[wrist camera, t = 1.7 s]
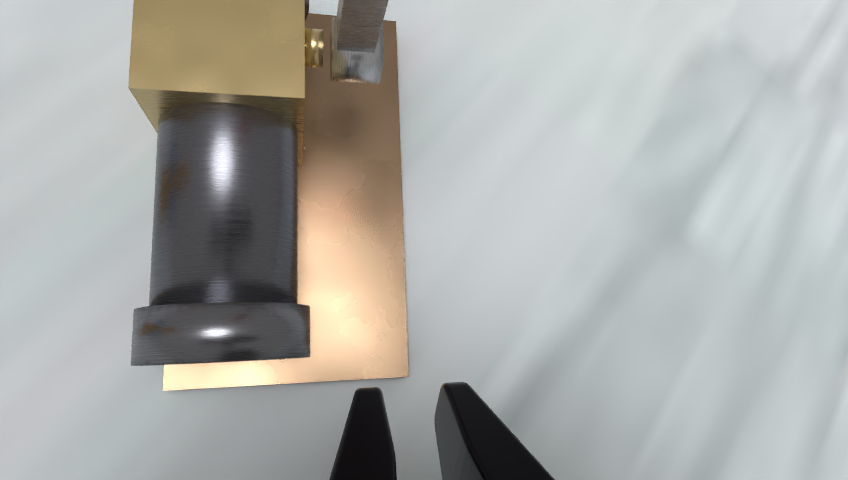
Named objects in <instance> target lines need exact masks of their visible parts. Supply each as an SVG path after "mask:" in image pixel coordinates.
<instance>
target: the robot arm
mask: <svg viewBox="0 0 848 480" xmlns="http://www.w3.org/2000/svg"><path fill="white" fill-rule="evenodd" d="M435 432H436V438H437V445H438V452H439V459H440V466H441V473H442V479H443V480H554V478H553V477H552V476H551V475H550V474H549V473H548V472H547V471H546V470H545V469H544V467H543V466H542V465H541V464H540V463H539V462H538V461H537V460H536V459H535V457H534V456H533V455H532V454H531V453H530V452H529V451H528V450H527V449H526V448H525V446H524V445H523V444H522V443H521V442H520V441H519V440H518V439H517V438H516V436H515V435H514V434H513V433H512V432H511V431H510V430H509V429H508V428H507V427H506V425H505V424H504V423H503V422H502V421H501V420H500V419H499V418H498V417H497V415H496V414H495V413H494V412H493V411H492V410H491V409H490V408H489V407H488V406H487V404H486V403H485V402H484V401H483V400H482V399H481V398H480V397H479V396H478V394H477V393H476V392H475V391H474V390H473V389H472V388H471V387H470V386H469V385H468V384H467V383H465V382H453V383H444V384H443V385H442V386H441V389H440V393H439V398H438V403H437V407H436V412H435ZM329 480H397V477H396V460H395V452H394V446H393V441H392V436H391V432H390V427H389V422H388V418H387V413H386V408H385V404H384V399H383V394H382V391H381V389H380V388H377V387H373V388H359V389H357V390H356V391H355V394H354V397H353V401H352V404H351V407H350V411H349V414H348V418H347V421H346V425H345V428H344V431H343V435H342V438H341V442H340V445H339V448H338V452H337V455H336V459H335V462H334V465H333V469H332V472H331V476H330V479H329Z"/></svg>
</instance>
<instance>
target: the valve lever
mask: <svg viewBox="0 0 848 480" xmlns="http://www.w3.org/2000/svg"><path fill="white" fill-rule="evenodd" d="M387 4H388V0H339V3H338V11H337V18H333V17H332V20H331V32H330V79H331V81H341V82H357V83H372V84H379V82H380V79H381V75H382V67H383V56H384V32H383V25H382V22H383V19H384V15H385V11H386V7H387Z"/></svg>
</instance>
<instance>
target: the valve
mask: <svg viewBox="0 0 848 480" xmlns="http://www.w3.org/2000/svg"><path fill="white" fill-rule="evenodd" d="M308 12H309V0H134V6H133V22H132V39H131V55H130V71H129V90H130V91H131V93H132V94H133V96H134V97H135V99H136V101H137V102H138V104H139V105H140V107H141V108H142V110H143V111H144V113H145V115H146V116H147V118H148V119H149V121H150V122H151V124H152V125H153V127H154V129H155V130H156V132H157V133H158V138H157V158H156V178H155V198H154V218H153V238H152V258H151V278H150V298H149V306H148V307H141V308H137V309H134V315H133V333H132V351H131V366H144V365H164V379H163V391H165V390H183V389H200V388H218V387H235V386H253V385H270V384H288V383H305V382H323V381H340V380H358V379H375V378H393V377H409V370H408V343H407V315H406V288H405V260H404V233H403V205H402V178H401V150H400V123H399V96H398V68H397V41H396V21H386V20H383V22H382V25H383V32H384V56H383V67H382V75H381V79H380V82H379V84H372V83H357V82H341V81H331V79H330V32H331V20H332V17H333V18H337V16H332V15H322V14H311V13H308Z"/></svg>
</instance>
